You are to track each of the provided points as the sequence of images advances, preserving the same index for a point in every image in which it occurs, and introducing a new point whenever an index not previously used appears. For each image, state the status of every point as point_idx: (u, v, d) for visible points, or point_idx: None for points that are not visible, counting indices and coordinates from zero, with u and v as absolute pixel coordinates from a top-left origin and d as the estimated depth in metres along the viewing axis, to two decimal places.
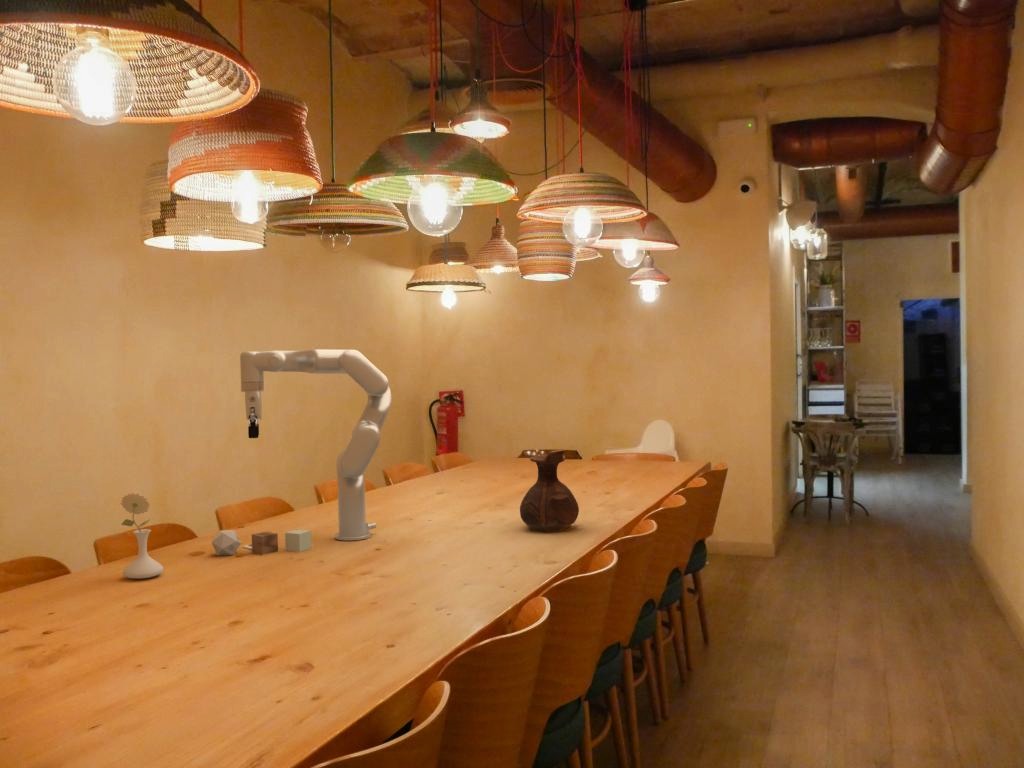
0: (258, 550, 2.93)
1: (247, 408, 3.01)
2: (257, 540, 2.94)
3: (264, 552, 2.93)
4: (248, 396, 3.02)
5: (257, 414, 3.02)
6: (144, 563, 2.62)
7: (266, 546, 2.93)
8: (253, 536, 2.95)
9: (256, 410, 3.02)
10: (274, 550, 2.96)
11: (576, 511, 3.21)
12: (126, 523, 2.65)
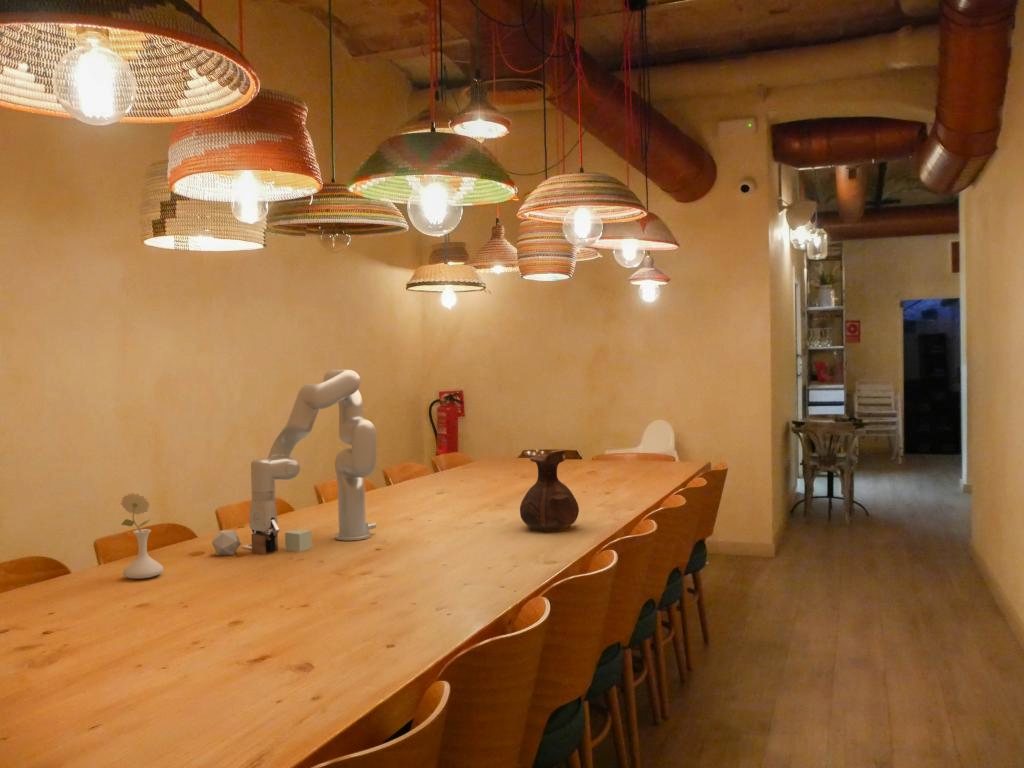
0: (258, 550, 2.93)
1: None
2: (257, 539, 2.94)
3: (264, 552, 2.93)
4: None
5: None
6: (144, 563, 2.62)
7: None
8: (253, 536, 2.95)
9: None
10: None
11: (576, 511, 3.21)
12: (126, 523, 2.65)
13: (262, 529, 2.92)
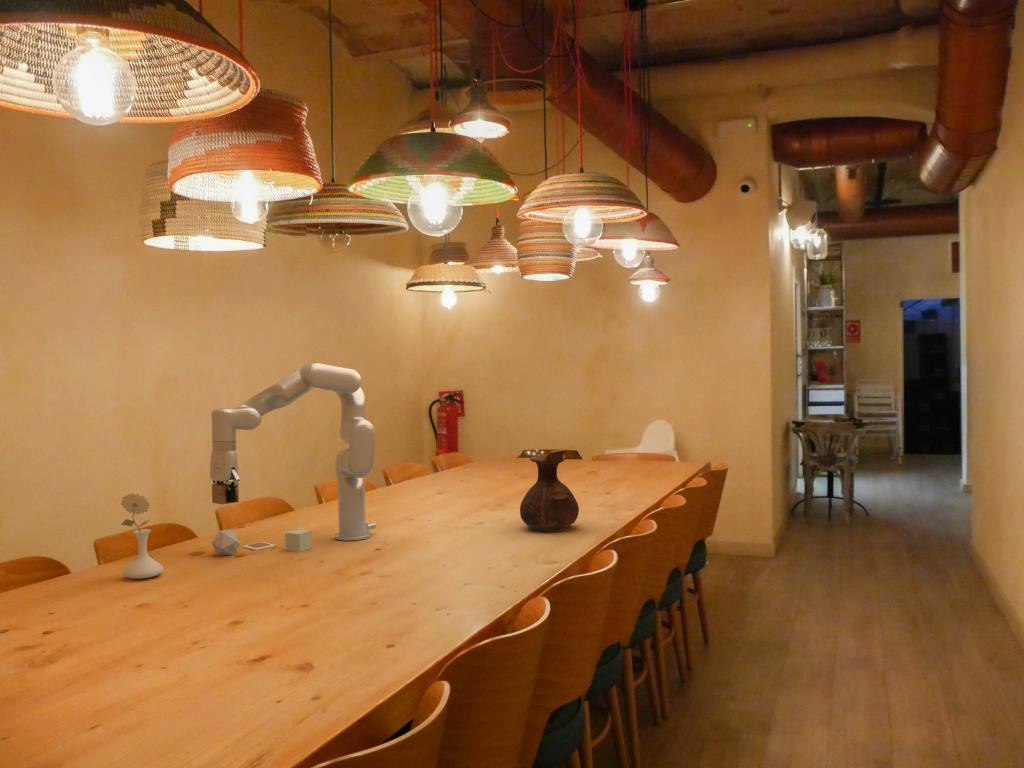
0: (218, 500, 2.90)
1: None
2: (217, 489, 2.90)
3: (224, 502, 2.89)
4: None
5: None
6: (144, 563, 2.62)
7: None
8: (213, 486, 2.91)
9: None
10: None
11: (576, 511, 3.21)
12: (126, 523, 2.65)
13: (222, 479, 2.88)
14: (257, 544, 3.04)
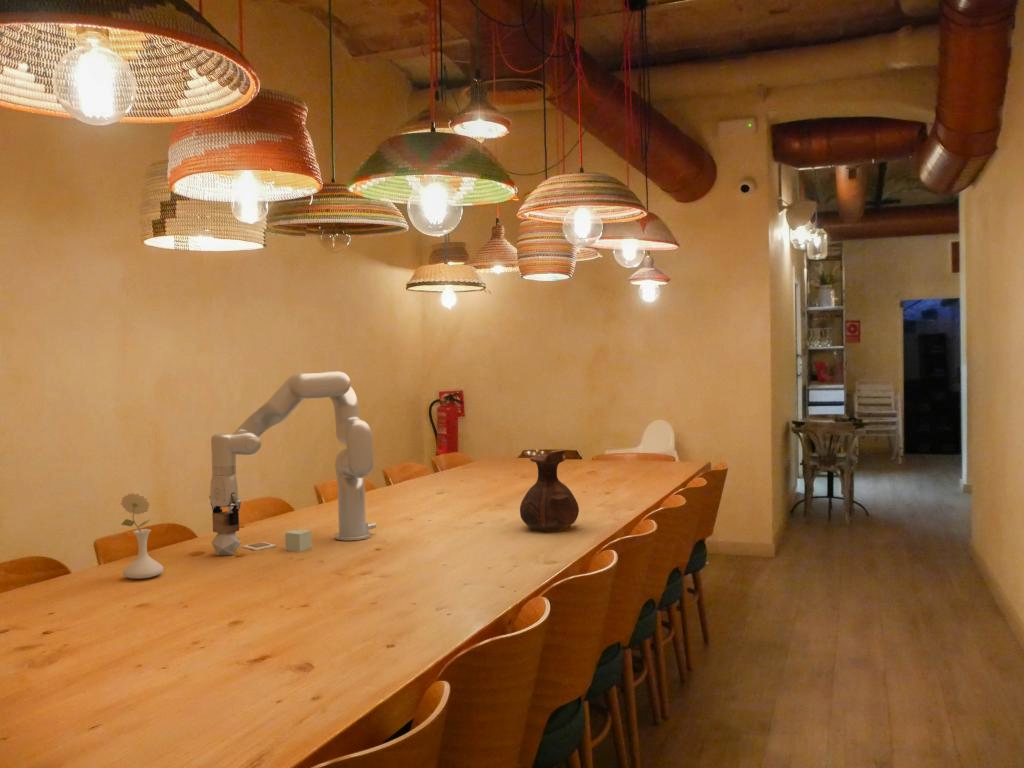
0: (219, 529, 2.90)
1: None
2: (218, 519, 2.90)
3: (225, 531, 2.89)
4: None
5: None
6: (144, 563, 2.62)
7: (227, 525, 2.90)
8: (214, 515, 2.92)
9: None
10: (235, 529, 2.92)
11: (576, 511, 3.21)
12: (126, 523, 2.65)
13: (222, 504, 2.89)
14: (257, 544, 3.04)
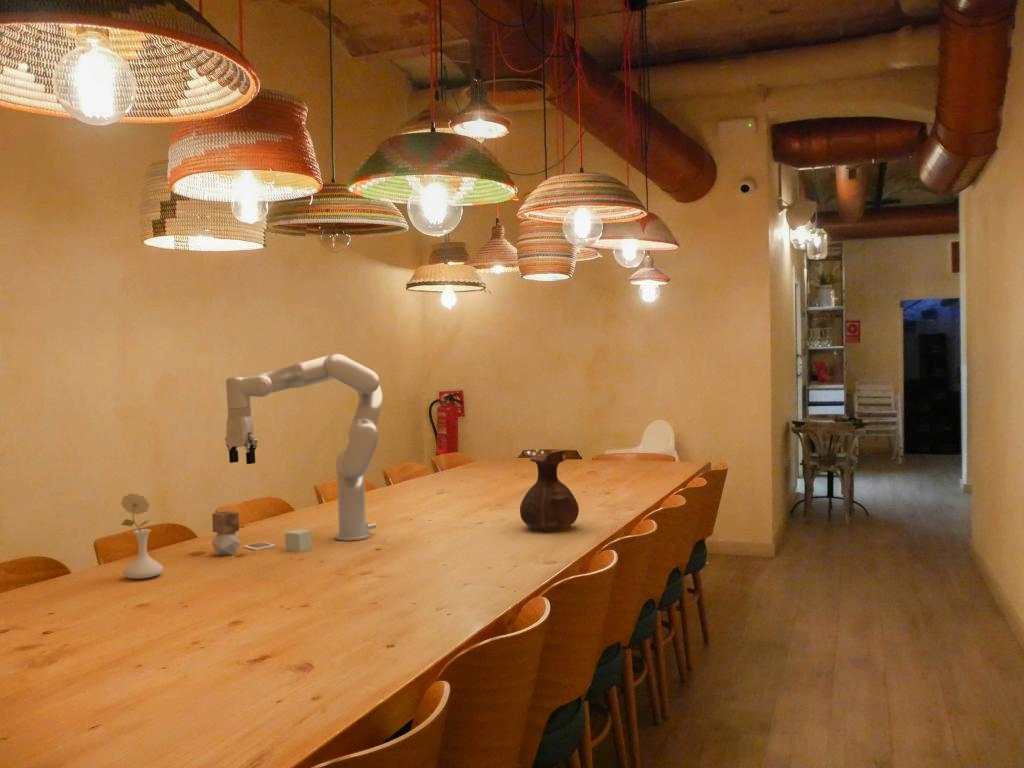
0: (218, 529, 2.90)
1: None
2: (217, 519, 2.90)
3: (224, 531, 2.89)
4: None
5: None
6: (144, 563, 2.62)
7: (227, 525, 2.90)
8: (214, 515, 2.92)
9: None
10: (235, 529, 2.92)
11: (576, 511, 3.21)
12: (126, 523, 2.65)
13: (239, 444, 2.99)
14: (257, 544, 3.04)
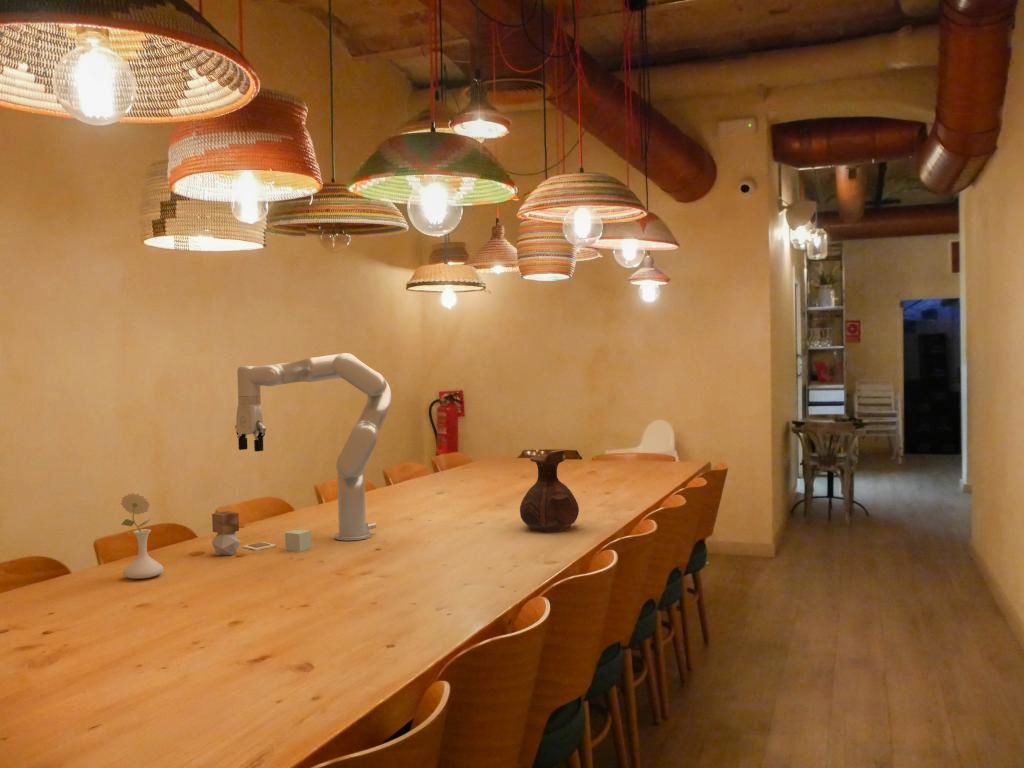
0: (218, 529, 2.90)
1: None
2: (217, 519, 2.90)
3: (224, 531, 2.89)
4: None
5: None
6: (144, 563, 2.62)
7: (227, 525, 2.90)
8: (213, 515, 2.92)
9: None
10: (235, 529, 2.92)
11: (576, 511, 3.21)
12: (126, 523, 2.65)
13: (248, 431, 3.06)
14: (257, 544, 3.04)
